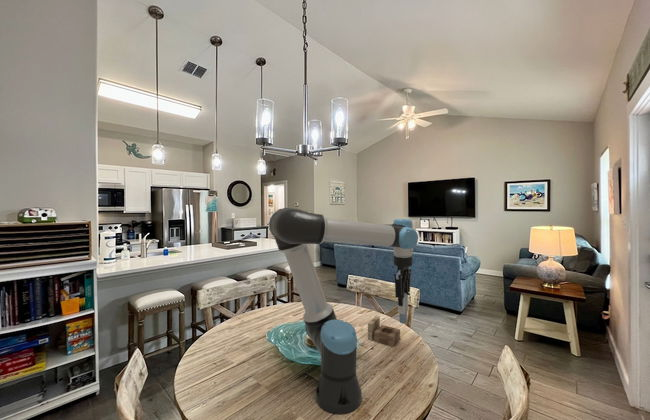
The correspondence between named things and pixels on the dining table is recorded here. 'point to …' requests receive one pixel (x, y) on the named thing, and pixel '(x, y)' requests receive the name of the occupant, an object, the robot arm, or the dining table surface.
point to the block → (387, 335)
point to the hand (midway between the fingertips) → (402, 311)
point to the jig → (373, 327)
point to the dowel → (404, 316)
